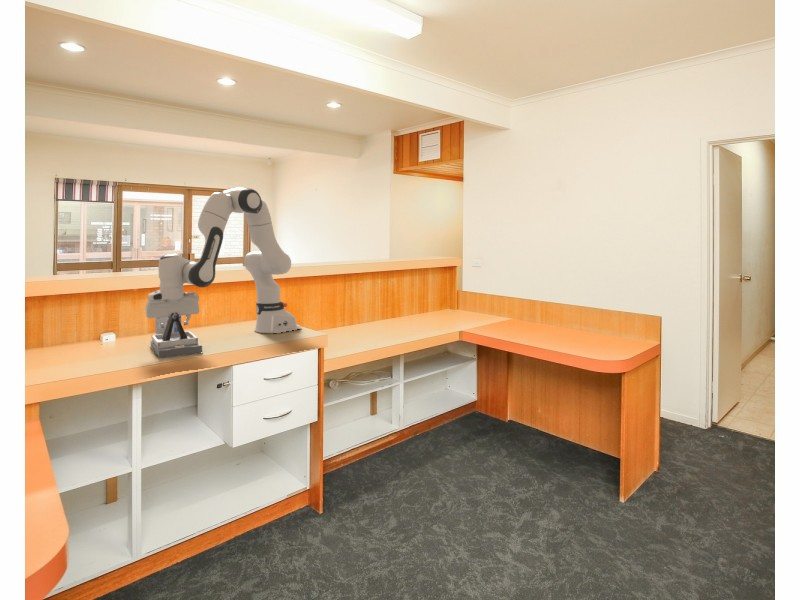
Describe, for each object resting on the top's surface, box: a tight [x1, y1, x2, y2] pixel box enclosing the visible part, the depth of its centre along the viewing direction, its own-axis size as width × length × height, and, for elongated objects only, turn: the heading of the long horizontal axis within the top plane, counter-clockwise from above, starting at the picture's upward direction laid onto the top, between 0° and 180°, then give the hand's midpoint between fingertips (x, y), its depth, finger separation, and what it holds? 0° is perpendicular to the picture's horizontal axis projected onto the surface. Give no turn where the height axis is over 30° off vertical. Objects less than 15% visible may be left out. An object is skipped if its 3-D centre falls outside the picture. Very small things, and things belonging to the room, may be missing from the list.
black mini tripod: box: [162, 313, 188, 341], centre depth 204 cm, size 9×6×12 cm, turn 124°
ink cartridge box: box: [154, 315, 182, 335], centre depth 220 cm, size 10×6×14 cm, turn 79°
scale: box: [150, 330, 203, 359], centre depth 203 cm, size 16×20×5 cm
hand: (174, 326), depth 204 cm, fingers open, 8 cm apart
